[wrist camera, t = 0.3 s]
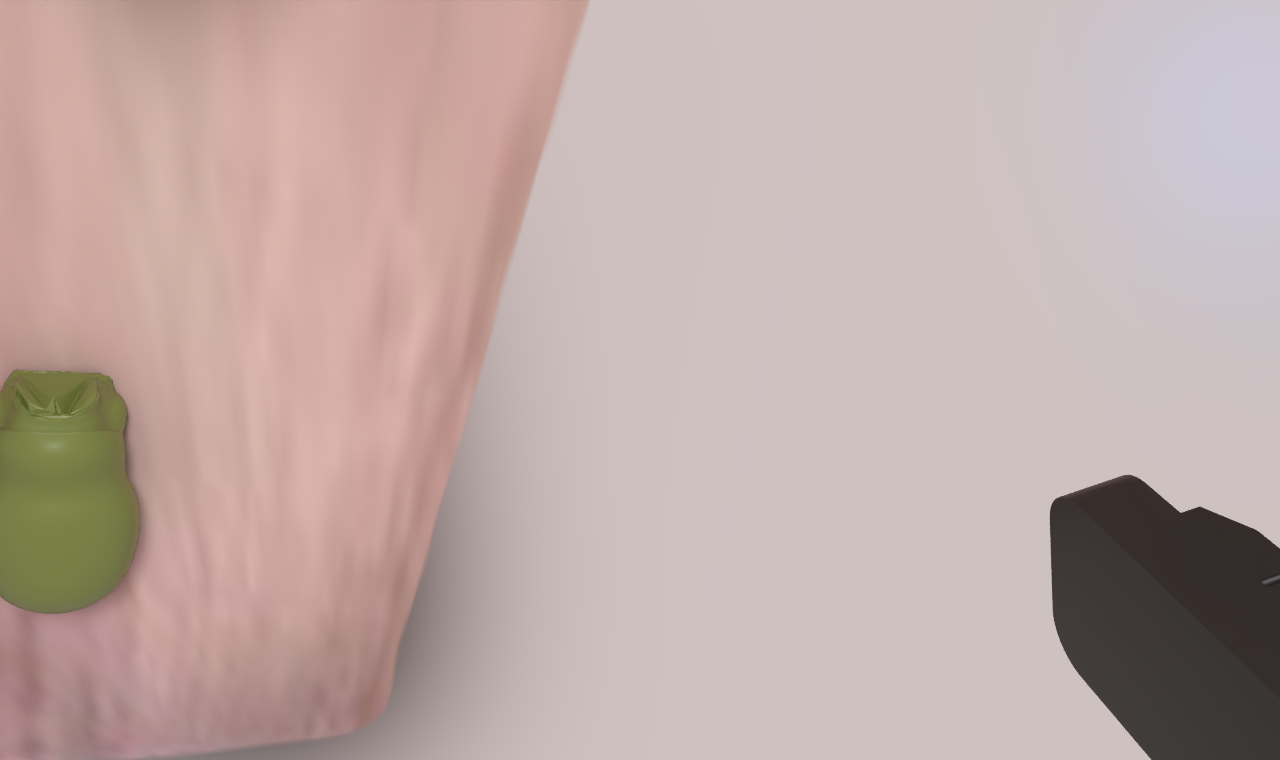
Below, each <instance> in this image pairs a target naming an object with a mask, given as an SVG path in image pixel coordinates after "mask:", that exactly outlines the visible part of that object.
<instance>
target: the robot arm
mask: <svg viewBox="0 0 1280 760" xmlns="http://www.w3.org/2000/svg"><path fill="white" fill-rule="evenodd" d="M1050 535H1051V568H1052V597H1053V598H1052V600H1053V617H1054V621H1055V626H1056V630H1057V633H1058V636H1059V638H1060V641H1061V643H1062V646H1063V648H1064V650H1065V652H1066V654H1067V656H1068V658H1069V660H1070V661H1071V663H1072V665H1073V666H1074V668H1075V669H1076V671H1077V672H1078V673H1079V675H1080V676H1081V677H1082V678H1083V680H1084V681H1085V682H1086V683H1087V684H1088V685H1089V687H1090V688H1091V689H1092V690H1093V691H1094V692H1095V694H1096V695H1097V696H1098V697H1099V698H1100V700H1101V701H1102V702H1103V703H1104V704H1105V706H1106V707H1107V708H1108V709H1109V710H1110V711H1111V712H1112V714H1113V715H1114V716H1115V717H1116V718H1117V720H1118V721H1119V722H1120V723H1121V724H1122V726H1123V727H1124V728H1125V729H1126V730H1127V731H1128V732H1129V734H1130V735H1131V736H1132V737H1133V739H1134V740H1135V741H1136V742H1137V743H1138V744H1139V746H1140V747H1141V748H1142V749H1143V750H1144V751H1145V753H1146V754H1147V755H1148V756H1149V757H1150V758H1151V760H1280V549H1279V548H1278V547H1277V546H1276V545H1275V544H1273V543H1272V542H1271V541H1270V540H1268V539H1267V538H1266V537H1264V536H1263V535H1262V534H1261V533H1260V532H1258V531H1257V530H1255V529H1253V528H1250V527H1248V526H1245V525H1243V524H1240V523H1238V522H1236V521H1233V520H1231V519H1228V518H1226V517H1224V516H1221V515H1218V514H1216V513H1214V512H1211V511H1209V510H1207V509H1204V508H1202V507H1197V508H1194V509H1191V510H1188V511H1185V512H1183V513H1180V512H1179V511H1177V510H1176V509H1175V508H1174V507H1173V506H1172V505H1171V504H1169V503H1168V502H1167V501H1166V500H1164V499H1163V498H1162V497H1161V496H1160V495H1159V494H1158V493H1157V492H1155V491H1154V490H1153V489H1152V488H1151V487H1149V486H1148V485H1147V484H1146V483H1145V482H1143V481H1142V480H1141V479H1139V478H1137V477H1135V476H1132V475H1123V476H1120V477H1117V478H1114V479H1112V480H1109V481H1106V482H1103V483H1100V484H1097V485H1094V486H1091V487H1088V488H1085V489H1082V490H1079V491H1076V492H1073V493H1070V494H1067V495H1064V496H1061V497H1059V498H1057V499H1055V500H1054V502H1053V503H1052V506H1051V510H1050Z"/></svg>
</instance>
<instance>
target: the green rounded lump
mask: <svg viewBox="0 0 1280 760" xmlns="http://www.w3.org/2000/svg"><path fill="white" fill-rule="evenodd" d="M126 419H127V408H126V404H125V402H124V400H123V398H122V397H121V396H120V395H119V394H118V393H117V392H116V390H115V388H114V386H113V381H112V379H111V378H110V377H109V376H104V375H102V374H100V373H77V372H69V371H66V372H60V371H53V372H50V371H42V372H40V371H17V370H15V371H13V373H12V374H11V375H10V376H9V378H8V379H7V380H6V381H5V383H4V385H3V389H2V390H1V391H0V597H1V598H3V599H4V600H5V601H7V602H8V603H10V604H12V605H14V606H16V607H19V608H21V609H24V610H27V611H31V612H37V613H45V614H59V613H67V612H72V611H76V610H79V609H82V608H85V607H87V606H90V605H92V604H94V603H96V602H98V601H99V600H101V599H103V598H104V597H105V596H107V595H108V594H109V593H110V592H112V591H113V590H114V589H115V588H116V586H117V585H118V584H119V583H120V582H121V580H122V579H123V577H124V576H125V574H126V573H127V571H128V569H129V567H130V565H131V562H132V560H133V557H134V554H135V551H136V547H137V543H138V537H139V530H140V511H139V504H138V499H137V495H136V492H135V490H134V488H133V485H132V484H131V482H130V480H129V478H128V476H127V474H126V465H125V455H126V452H125V442H124V436H123V432H124V428H125V424H126Z"/></svg>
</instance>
